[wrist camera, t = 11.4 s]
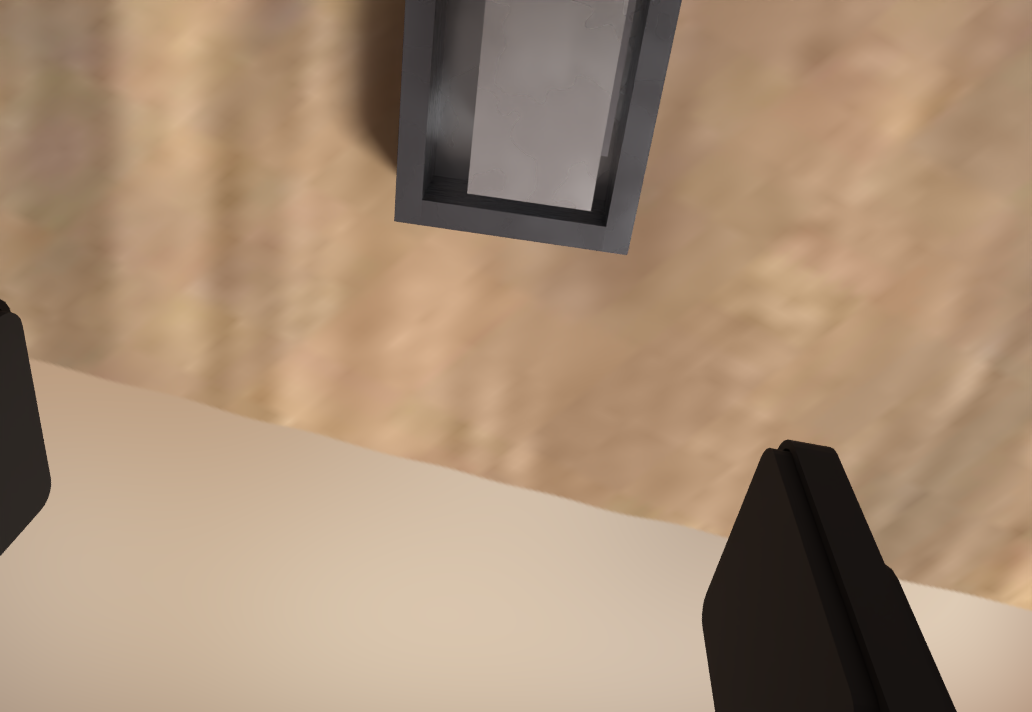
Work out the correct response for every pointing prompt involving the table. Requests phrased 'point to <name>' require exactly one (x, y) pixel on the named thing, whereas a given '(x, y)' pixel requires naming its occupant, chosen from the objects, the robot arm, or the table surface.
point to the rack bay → (450, 121)
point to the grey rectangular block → (547, 98)
